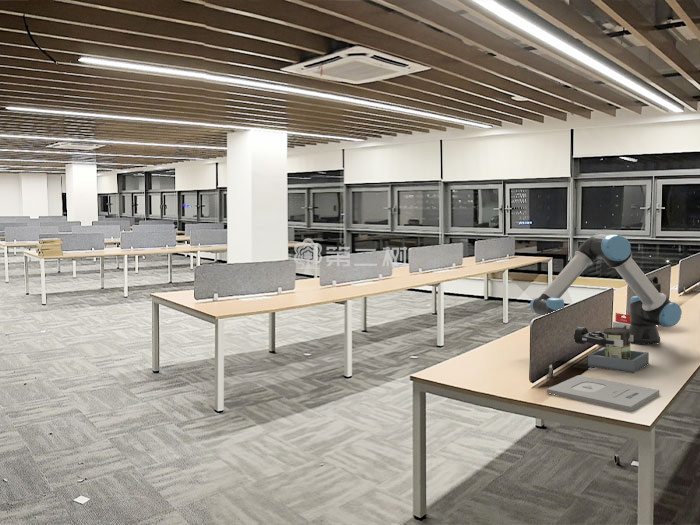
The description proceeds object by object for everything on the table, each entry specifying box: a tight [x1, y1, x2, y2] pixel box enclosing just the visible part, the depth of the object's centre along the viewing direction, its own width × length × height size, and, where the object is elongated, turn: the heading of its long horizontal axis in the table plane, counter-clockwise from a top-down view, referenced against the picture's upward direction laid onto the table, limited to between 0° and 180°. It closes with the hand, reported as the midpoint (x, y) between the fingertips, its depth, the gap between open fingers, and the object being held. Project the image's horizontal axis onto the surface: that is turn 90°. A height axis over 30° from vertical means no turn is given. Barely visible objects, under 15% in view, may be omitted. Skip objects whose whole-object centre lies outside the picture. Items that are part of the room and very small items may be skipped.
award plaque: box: [546, 374, 660, 413], centre depth 211 cm, size 25×30×2 cm
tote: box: [587, 346, 650, 374], centre depth 249 cm, size 18×18×5 cm
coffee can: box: [603, 327, 632, 360], centre depth 248 cm, size 10×10×14 cm
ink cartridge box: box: [612, 312, 630, 329], centre depth 314 cm, size 2×11×10 cm, turn 25°
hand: (628, 340), depth 245 cm, fingers open, 11 cm apart
